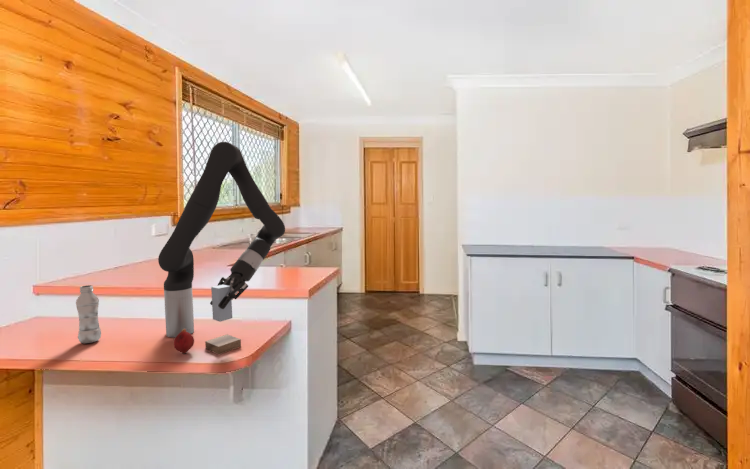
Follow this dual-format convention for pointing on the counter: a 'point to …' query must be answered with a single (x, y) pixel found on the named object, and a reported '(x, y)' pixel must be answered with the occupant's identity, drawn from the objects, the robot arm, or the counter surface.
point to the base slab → (223, 344)
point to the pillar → (217, 297)
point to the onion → (183, 341)
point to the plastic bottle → (88, 315)
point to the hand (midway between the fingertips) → (216, 306)
